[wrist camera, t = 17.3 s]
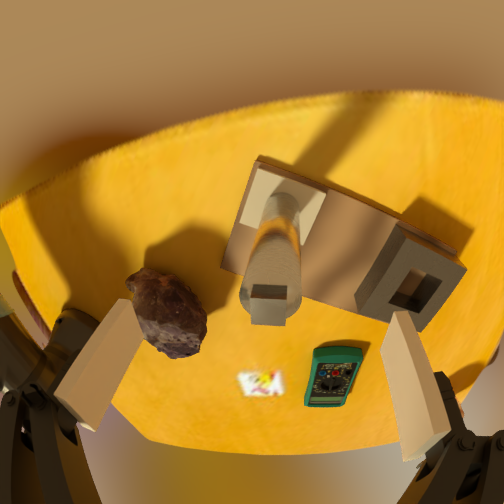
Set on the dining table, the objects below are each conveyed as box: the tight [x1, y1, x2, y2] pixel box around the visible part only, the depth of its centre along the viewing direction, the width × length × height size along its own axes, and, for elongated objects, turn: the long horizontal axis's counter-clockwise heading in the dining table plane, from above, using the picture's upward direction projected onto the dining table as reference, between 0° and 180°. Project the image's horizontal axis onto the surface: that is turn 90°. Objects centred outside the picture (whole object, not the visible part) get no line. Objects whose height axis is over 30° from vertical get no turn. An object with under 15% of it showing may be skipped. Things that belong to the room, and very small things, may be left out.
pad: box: [239, 167, 326, 245], centre depth 27 cm, size 7×6×1 cm
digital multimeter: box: [304, 346, 363, 407], centre depth 40 cm, size 7×15×3 cm, turn 2°
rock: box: [125, 268, 207, 359], centre depth 33 cm, size 12×9×10 cm
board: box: [220, 160, 457, 324], centre depth 30 cm, size 26×13×1 cm, turn 72°
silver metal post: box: [239, 192, 302, 326], centre depth 21 cm, size 3×3×15 cm
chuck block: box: [354, 224, 467, 333], centre depth 28 cm, size 10×10×3 cm
